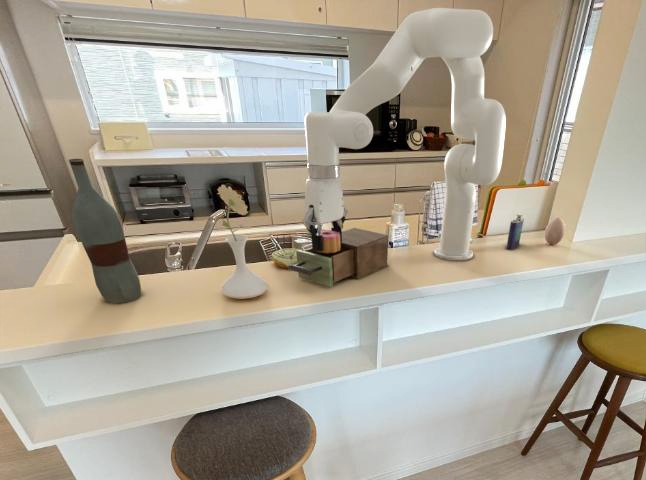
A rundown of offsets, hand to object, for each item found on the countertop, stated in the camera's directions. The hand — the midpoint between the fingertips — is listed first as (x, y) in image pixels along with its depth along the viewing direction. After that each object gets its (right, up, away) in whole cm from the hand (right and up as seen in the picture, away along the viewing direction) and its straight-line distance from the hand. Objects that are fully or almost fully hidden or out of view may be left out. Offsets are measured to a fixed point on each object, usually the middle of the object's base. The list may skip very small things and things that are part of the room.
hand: (327, 246), depth 111 cm
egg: (+75, +13, +39) cm, 86 cm away
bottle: (-49, -15, -8) cm, 52 cm away
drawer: (-1, -8, +3) cm, 8 cm away
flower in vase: (-20, -14, -4) cm, 25 cm away
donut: (0, -1, 0) cm, 1 cm away
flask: (+60, +11, +35) cm, 71 cm away
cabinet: (+7, -2, +13) cm, 15 cm away
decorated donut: (-13, -1, +15) cm, 19 cm away
